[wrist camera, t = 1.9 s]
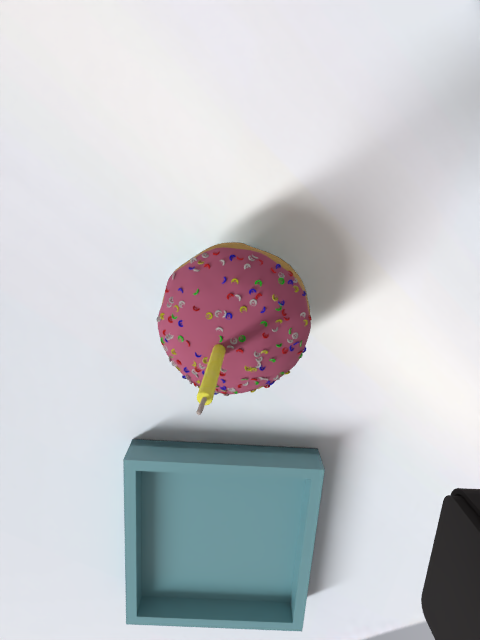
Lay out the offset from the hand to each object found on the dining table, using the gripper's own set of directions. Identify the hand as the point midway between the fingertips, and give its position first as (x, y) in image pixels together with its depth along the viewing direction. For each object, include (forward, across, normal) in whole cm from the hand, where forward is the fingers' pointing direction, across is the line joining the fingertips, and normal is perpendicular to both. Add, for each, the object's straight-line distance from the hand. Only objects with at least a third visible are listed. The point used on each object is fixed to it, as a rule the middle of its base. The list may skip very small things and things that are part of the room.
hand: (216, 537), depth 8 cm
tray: (+20, 0, +17) cm, 26 cm away
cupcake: (+20, 0, -1) cm, 20 cm away
